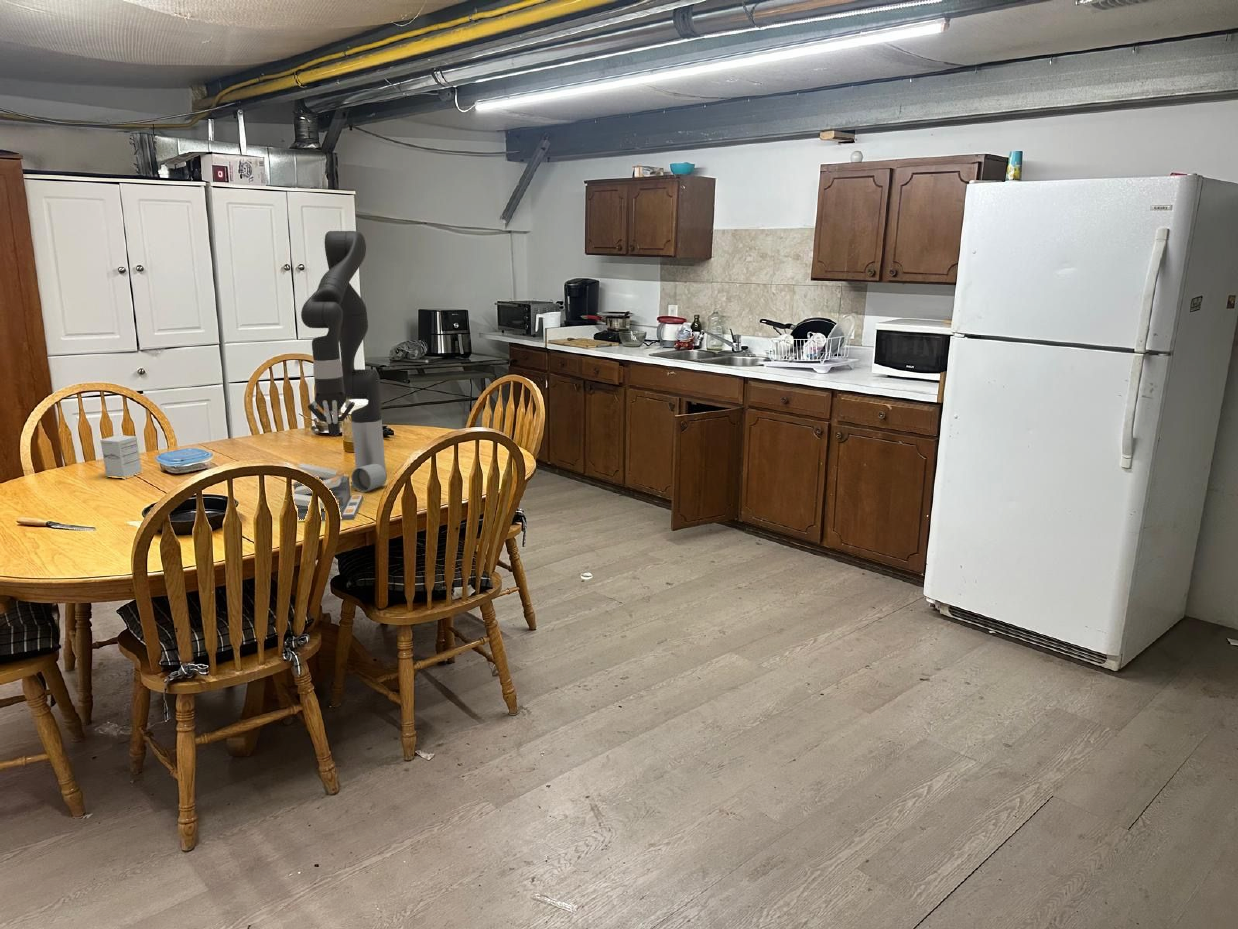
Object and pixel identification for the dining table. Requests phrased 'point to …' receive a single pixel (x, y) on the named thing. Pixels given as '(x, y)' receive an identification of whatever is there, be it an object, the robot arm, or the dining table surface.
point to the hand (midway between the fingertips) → (334, 435)
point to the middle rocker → (329, 482)
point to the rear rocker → (321, 471)
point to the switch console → (342, 493)
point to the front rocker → (305, 500)
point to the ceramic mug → (368, 477)
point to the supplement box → (121, 456)
